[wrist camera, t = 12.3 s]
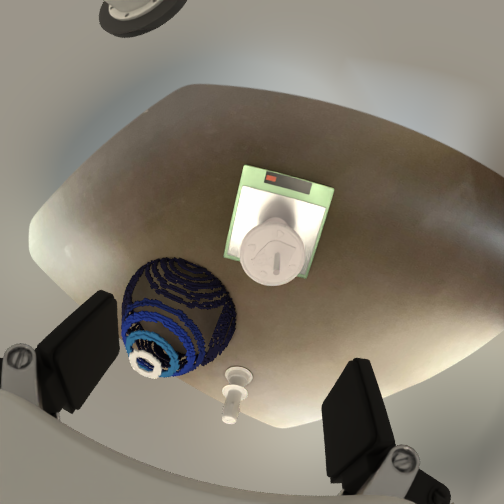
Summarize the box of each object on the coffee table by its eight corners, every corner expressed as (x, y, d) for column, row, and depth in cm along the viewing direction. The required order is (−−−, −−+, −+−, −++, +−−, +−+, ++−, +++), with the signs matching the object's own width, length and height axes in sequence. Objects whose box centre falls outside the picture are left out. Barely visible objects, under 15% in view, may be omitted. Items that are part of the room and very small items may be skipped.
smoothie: (306, 245, 35) (319, 295, 22) (261, 261, 37) (248, 317, 23) (289, 199, 33) (294, 224, 20) (242, 217, 35) (217, 252, 22)
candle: (220, 376, 49) (206, 422, 38) (234, 361, 48) (222, 409, 36) (242, 388, 50) (233, 434, 38) (257, 374, 48) (250, 423, 37)
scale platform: (243, 184, 34) (242, 185, 34) (325, 206, 34) (326, 207, 33) (227, 252, 38) (226, 254, 37) (304, 272, 37) (305, 275, 36)
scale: (247, 164, 36) (243, 164, 33) (330, 186, 36) (335, 189, 33) (227, 250, 41) (222, 258, 37) (304, 270, 40) (306, 280, 37)
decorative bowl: (216, 370, 49) (198, 427, 35) (125, 330, 48) (88, 374, 35) (253, 287, 42) (239, 344, 29) (139, 240, 42) (86, 274, 28)
